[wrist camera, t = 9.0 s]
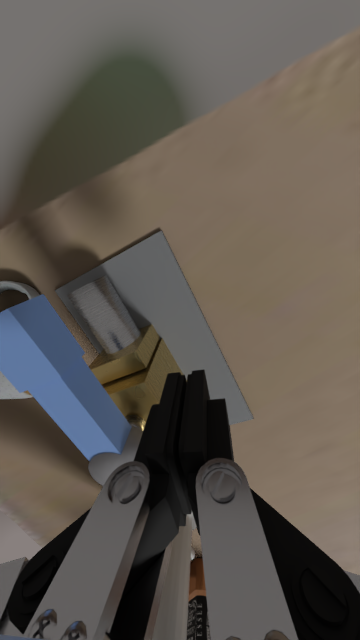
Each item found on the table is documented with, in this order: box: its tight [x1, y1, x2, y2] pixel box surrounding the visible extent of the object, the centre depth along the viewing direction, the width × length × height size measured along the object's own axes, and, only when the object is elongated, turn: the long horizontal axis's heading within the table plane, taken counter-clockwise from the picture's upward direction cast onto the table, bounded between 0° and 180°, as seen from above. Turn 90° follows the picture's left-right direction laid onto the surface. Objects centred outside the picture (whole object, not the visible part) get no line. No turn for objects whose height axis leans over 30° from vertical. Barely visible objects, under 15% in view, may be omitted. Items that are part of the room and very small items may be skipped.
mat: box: [55, 231, 253, 425], centre depth 23 cm, size 22×12×1 cm, turn 27°
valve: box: [67, 275, 187, 431], centre depth 19 cm, size 20×6×8 cm, turn 27°
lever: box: [0, 294, 143, 486], centre depth 13 cm, size 4×13×2 cm, turn 26°
